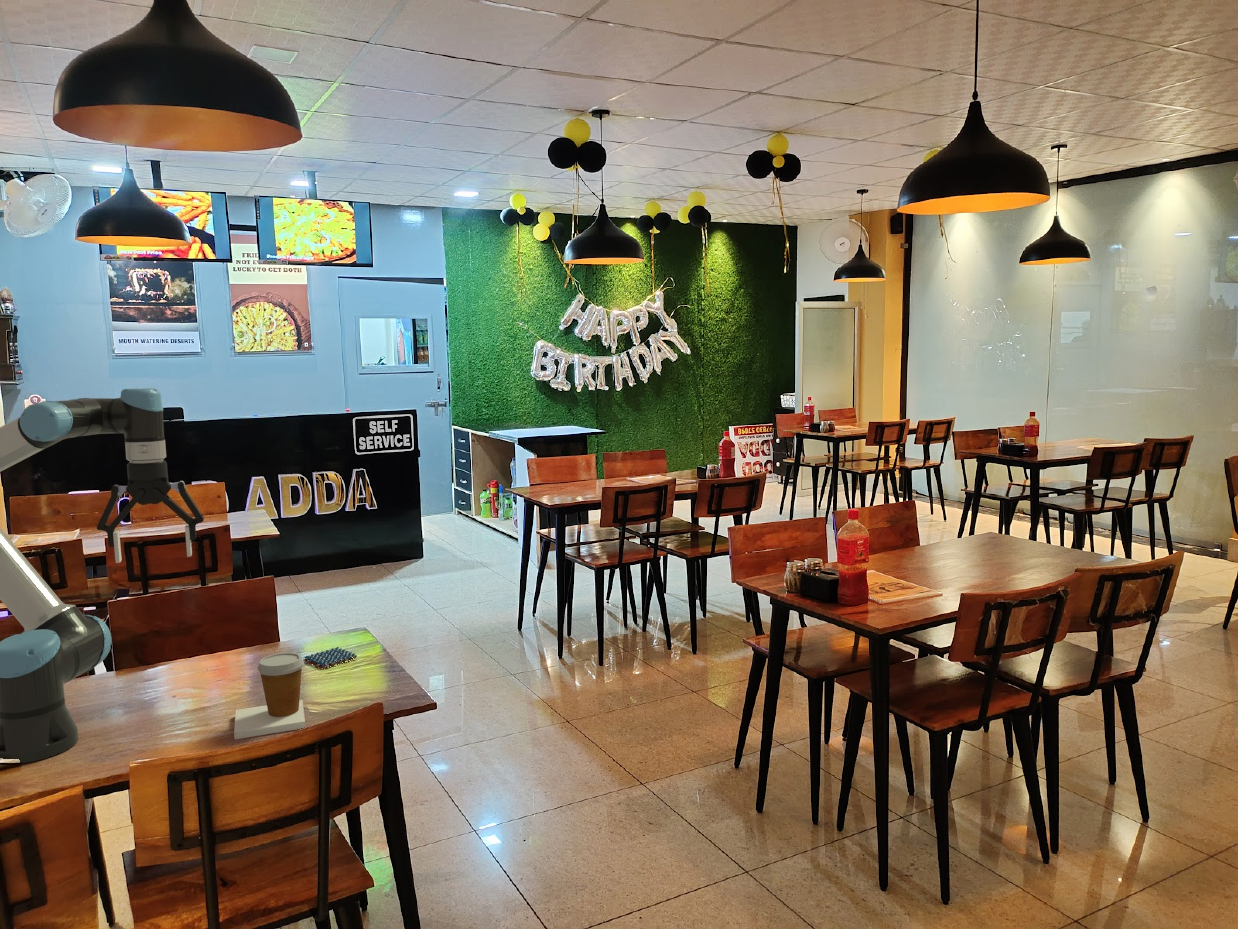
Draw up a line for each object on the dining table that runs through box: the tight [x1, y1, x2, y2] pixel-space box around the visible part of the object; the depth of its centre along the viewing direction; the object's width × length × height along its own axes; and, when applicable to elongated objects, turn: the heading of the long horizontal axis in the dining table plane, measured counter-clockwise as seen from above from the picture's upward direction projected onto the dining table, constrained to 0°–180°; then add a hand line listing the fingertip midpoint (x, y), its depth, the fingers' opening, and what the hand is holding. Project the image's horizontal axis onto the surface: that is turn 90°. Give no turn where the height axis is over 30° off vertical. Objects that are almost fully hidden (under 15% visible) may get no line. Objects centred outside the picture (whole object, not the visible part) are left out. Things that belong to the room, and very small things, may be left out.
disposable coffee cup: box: [257, 652, 305, 717], centre depth 191 cm, size 10×10×12 cm
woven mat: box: [302, 646, 358, 669], centre depth 228 cm, size 10×11×2 cm
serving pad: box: [233, 699, 306, 740], centre depth 190 cm, size 14×13×2 cm
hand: (154, 558), depth 187 cm, fingers open, 13 cm apart
